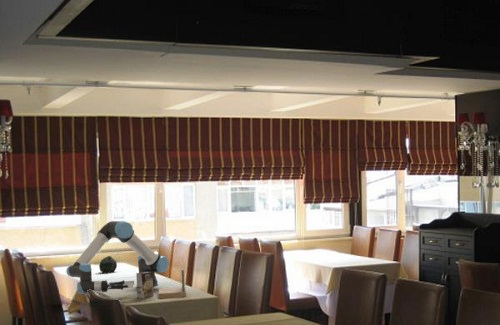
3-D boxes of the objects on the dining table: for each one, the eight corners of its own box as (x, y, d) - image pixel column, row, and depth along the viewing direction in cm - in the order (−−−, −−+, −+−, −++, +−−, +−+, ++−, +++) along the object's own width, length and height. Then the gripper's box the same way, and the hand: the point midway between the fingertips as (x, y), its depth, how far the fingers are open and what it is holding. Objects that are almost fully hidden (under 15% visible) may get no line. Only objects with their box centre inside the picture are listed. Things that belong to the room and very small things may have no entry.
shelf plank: (159, 293, 492) (158, 288, 492) (185, 291, 494) (185, 286, 495) (158, 298, 471) (158, 293, 471) (186, 296, 473) (186, 291, 473)
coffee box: (143, 298, 475) (142, 273, 475) (137, 297, 479) (135, 273, 479) (153, 295, 482) (152, 271, 482) (147, 295, 486) (146, 271, 486)
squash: (99, 265, 629) (99, 253, 619) (116, 264, 632) (116, 253, 622) (99, 277, 618) (99, 266, 608) (117, 277, 621) (117, 265, 612)
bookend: (182, 287, 491) (181, 267, 492) (184, 287, 491) (183, 266, 492) (182, 291, 475) (181, 270, 476) (184, 291, 476) (183, 269, 476)
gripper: (103, 289, 489) (134, 287, 492) (99, 295, 465) (132, 292, 467) (102, 278, 490) (134, 276, 492) (99, 283, 465) (132, 281, 467)
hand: (133, 284), depth 479 cm, fingers open, 13 cm apart
